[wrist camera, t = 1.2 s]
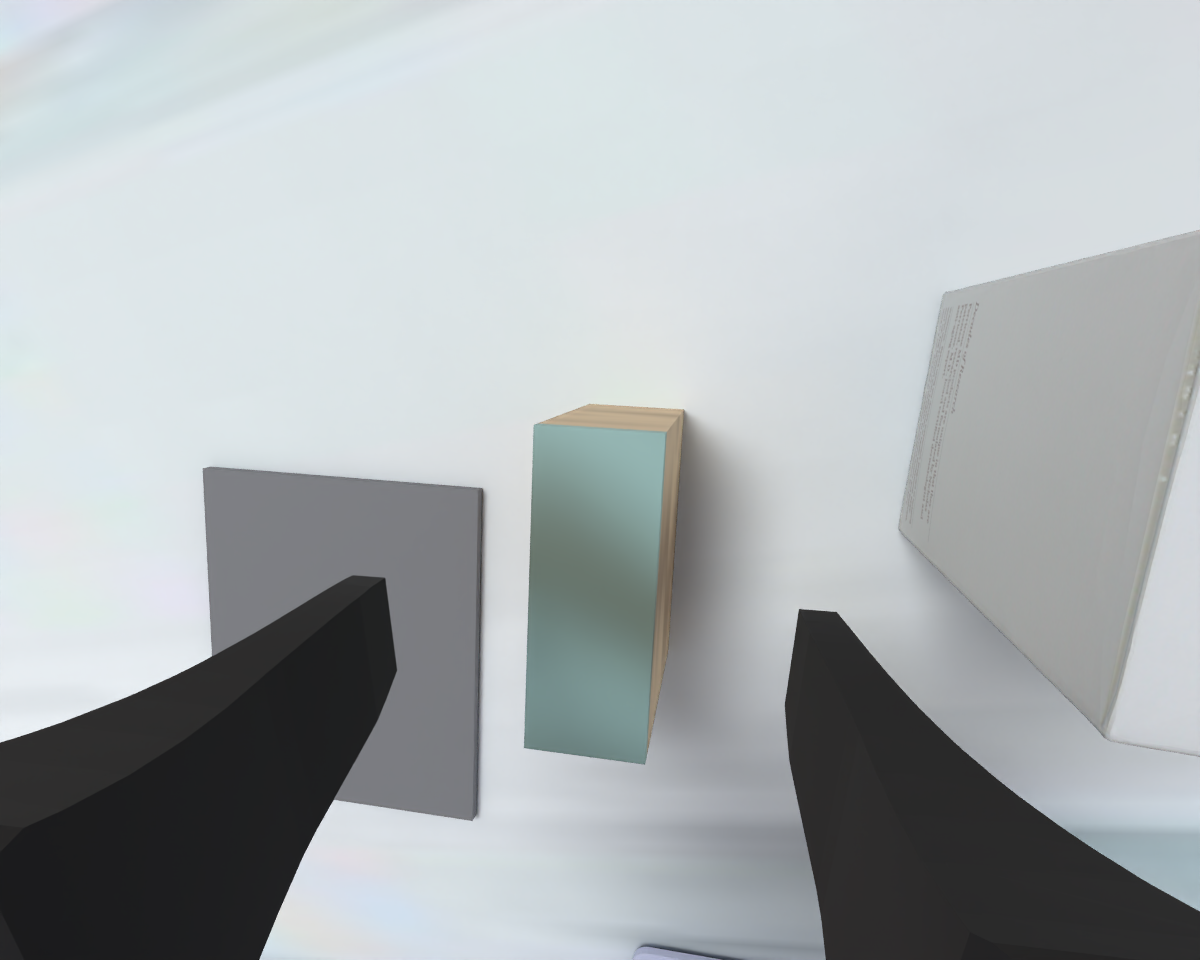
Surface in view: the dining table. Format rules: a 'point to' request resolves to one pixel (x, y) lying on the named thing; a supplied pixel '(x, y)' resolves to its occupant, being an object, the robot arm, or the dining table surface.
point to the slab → (600, 578)
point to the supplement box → (1076, 478)
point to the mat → (416, 602)
